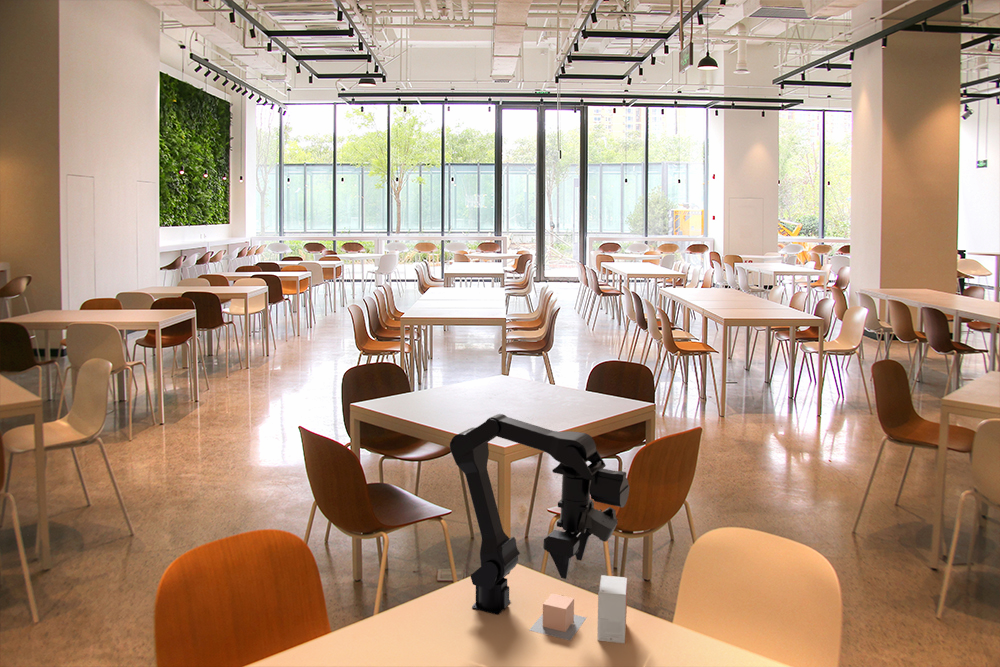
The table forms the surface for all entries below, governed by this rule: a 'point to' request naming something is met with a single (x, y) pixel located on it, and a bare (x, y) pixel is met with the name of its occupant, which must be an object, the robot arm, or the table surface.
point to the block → (558, 612)
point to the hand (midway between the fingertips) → (571, 568)
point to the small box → (612, 609)
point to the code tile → (556, 633)
